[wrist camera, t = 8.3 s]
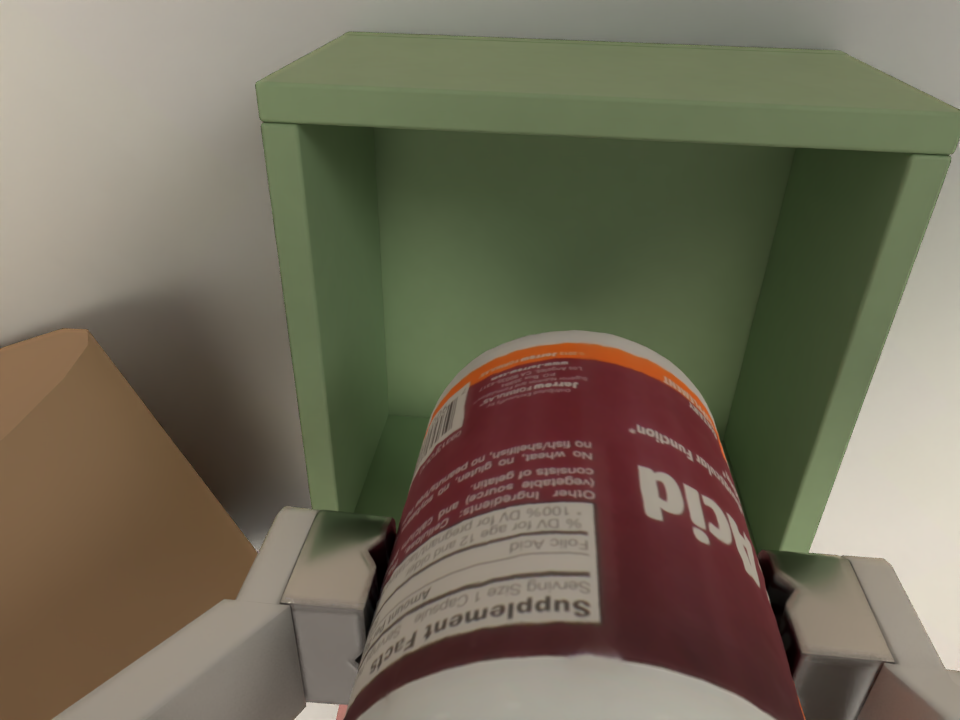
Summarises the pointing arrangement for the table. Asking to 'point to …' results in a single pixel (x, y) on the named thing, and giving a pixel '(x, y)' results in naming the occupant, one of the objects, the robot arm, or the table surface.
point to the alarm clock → (95, 527)
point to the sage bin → (595, 237)
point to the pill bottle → (573, 553)
